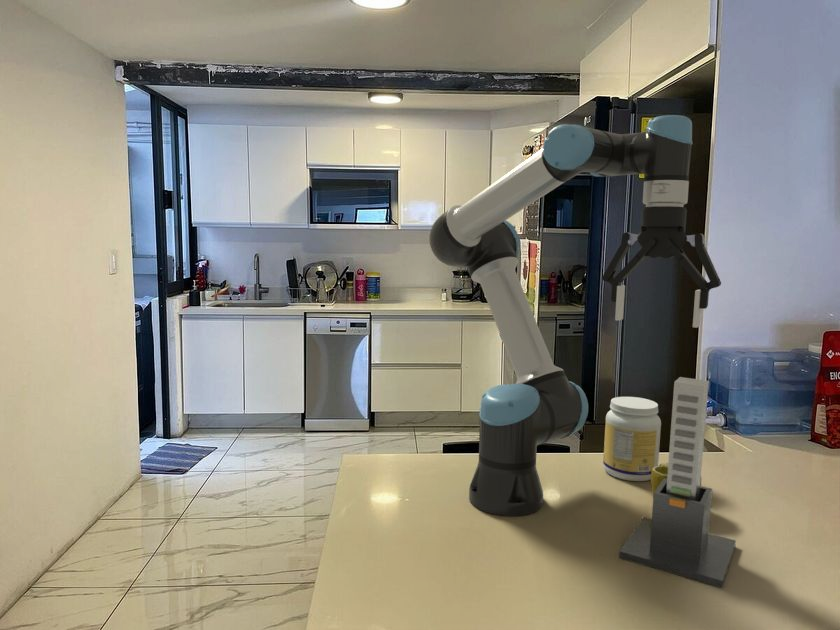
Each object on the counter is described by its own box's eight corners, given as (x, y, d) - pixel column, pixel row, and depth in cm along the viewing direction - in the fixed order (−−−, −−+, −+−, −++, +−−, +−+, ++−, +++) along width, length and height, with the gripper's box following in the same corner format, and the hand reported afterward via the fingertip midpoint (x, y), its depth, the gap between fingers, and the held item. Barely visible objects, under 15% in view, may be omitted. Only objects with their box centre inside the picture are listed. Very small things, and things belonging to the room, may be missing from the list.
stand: (619, 557, 107) (623, 495, 106) (642, 522, 120) (646, 466, 119) (722, 588, 98) (728, 520, 97) (735, 546, 112) (740, 486, 110)
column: (664, 508, 107) (673, 382, 104) (670, 498, 111) (679, 377, 109) (693, 515, 105) (703, 386, 102) (698, 504, 109) (708, 380, 106)
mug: (716, 515, 120) (700, 463, 121) (661, 525, 122) (646, 474, 124) (704, 501, 132) (690, 454, 133) (654, 511, 134) (641, 464, 135)
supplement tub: (612, 459, 154) (616, 392, 152) (663, 471, 147) (668, 401, 145) (594, 474, 145) (598, 403, 142) (648, 487, 138) (653, 412, 135)
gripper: (589, 205, 116) (583, 319, 119) (739, 204, 103) (728, 332, 105) (601, 207, 122) (595, 315, 125) (744, 206, 109) (734, 327, 112)
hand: (656, 323), depth 115 cm, fingers open, 13 cm apart
